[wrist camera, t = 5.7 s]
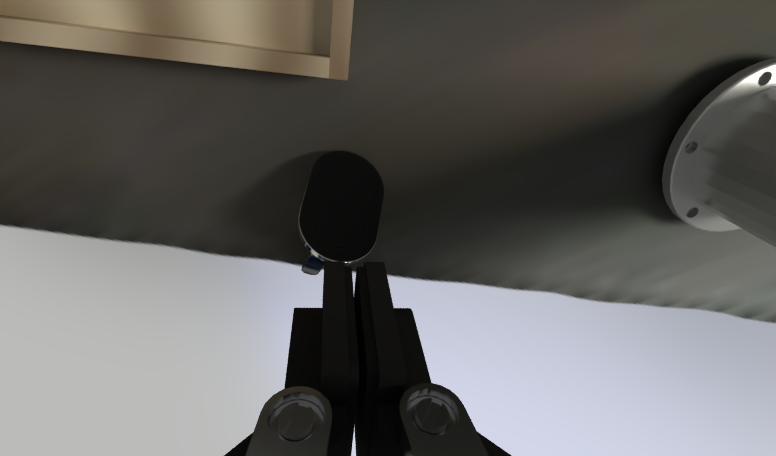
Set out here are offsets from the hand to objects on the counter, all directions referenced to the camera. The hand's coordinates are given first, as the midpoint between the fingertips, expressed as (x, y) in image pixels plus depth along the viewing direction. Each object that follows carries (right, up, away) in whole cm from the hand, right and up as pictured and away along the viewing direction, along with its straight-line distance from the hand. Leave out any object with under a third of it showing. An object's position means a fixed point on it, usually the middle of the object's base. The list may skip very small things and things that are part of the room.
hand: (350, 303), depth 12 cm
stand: (-3, +6, +19) cm, 20 cm away
